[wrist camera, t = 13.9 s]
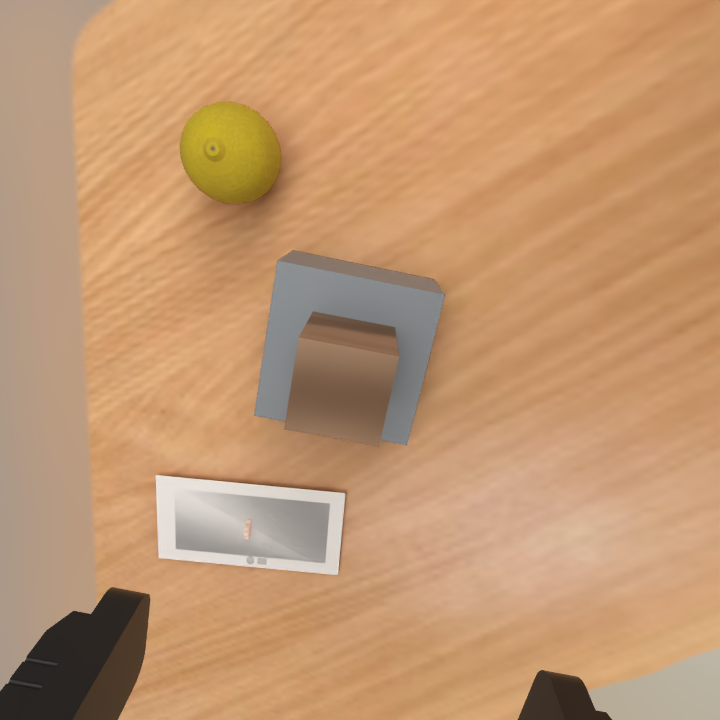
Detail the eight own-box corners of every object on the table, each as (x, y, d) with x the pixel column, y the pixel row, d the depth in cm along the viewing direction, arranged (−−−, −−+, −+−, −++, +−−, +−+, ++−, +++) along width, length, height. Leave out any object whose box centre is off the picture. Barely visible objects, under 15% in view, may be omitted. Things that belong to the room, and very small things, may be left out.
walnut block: (312, 311, 31) (298, 337, 25) (394, 327, 31) (399, 356, 25) (300, 388, 32) (284, 429, 27) (378, 402, 33) (378, 446, 27)
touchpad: (161, 468, 42) (150, 482, 40) (346, 485, 42) (344, 500, 40) (163, 549, 44) (153, 566, 42) (338, 566, 44) (336, 584, 42)
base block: (293, 250, 36) (277, 260, 30) (434, 279, 36) (445, 294, 30) (272, 383, 39) (254, 415, 33) (402, 408, 39) (407, 445, 33)
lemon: (288, 206, 35) (263, 209, 27) (206, 199, 35) (159, 199, 27) (292, 117, 33) (267, 93, 26) (206, 109, 33) (156, 83, 26)
